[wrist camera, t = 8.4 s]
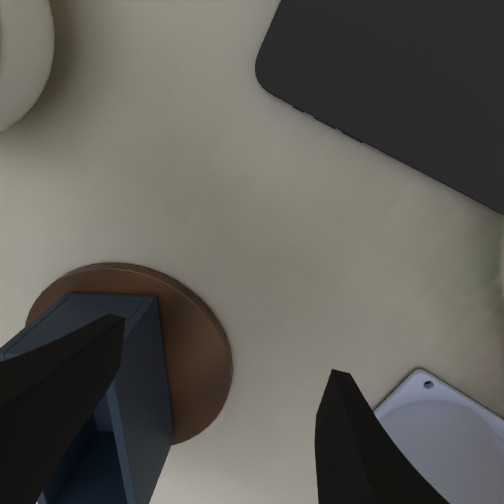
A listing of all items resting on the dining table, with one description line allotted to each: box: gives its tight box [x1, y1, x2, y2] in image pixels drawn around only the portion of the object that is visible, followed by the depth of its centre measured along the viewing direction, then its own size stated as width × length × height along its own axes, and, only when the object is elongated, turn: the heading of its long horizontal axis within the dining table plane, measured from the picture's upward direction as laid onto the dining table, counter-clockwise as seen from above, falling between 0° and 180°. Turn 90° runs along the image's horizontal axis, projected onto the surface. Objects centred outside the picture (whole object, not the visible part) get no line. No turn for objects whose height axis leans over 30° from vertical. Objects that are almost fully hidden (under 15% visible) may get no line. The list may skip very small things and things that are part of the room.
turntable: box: [25, 263, 232, 445], centre depth 26 cm, size 13×13×1 cm
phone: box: [255, 0, 504, 215], centre depth 18 cm, size 7×1×15 cm
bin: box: [0, 293, 175, 504], centre depth 23 cm, size 11×5×6 cm, turn 2°
